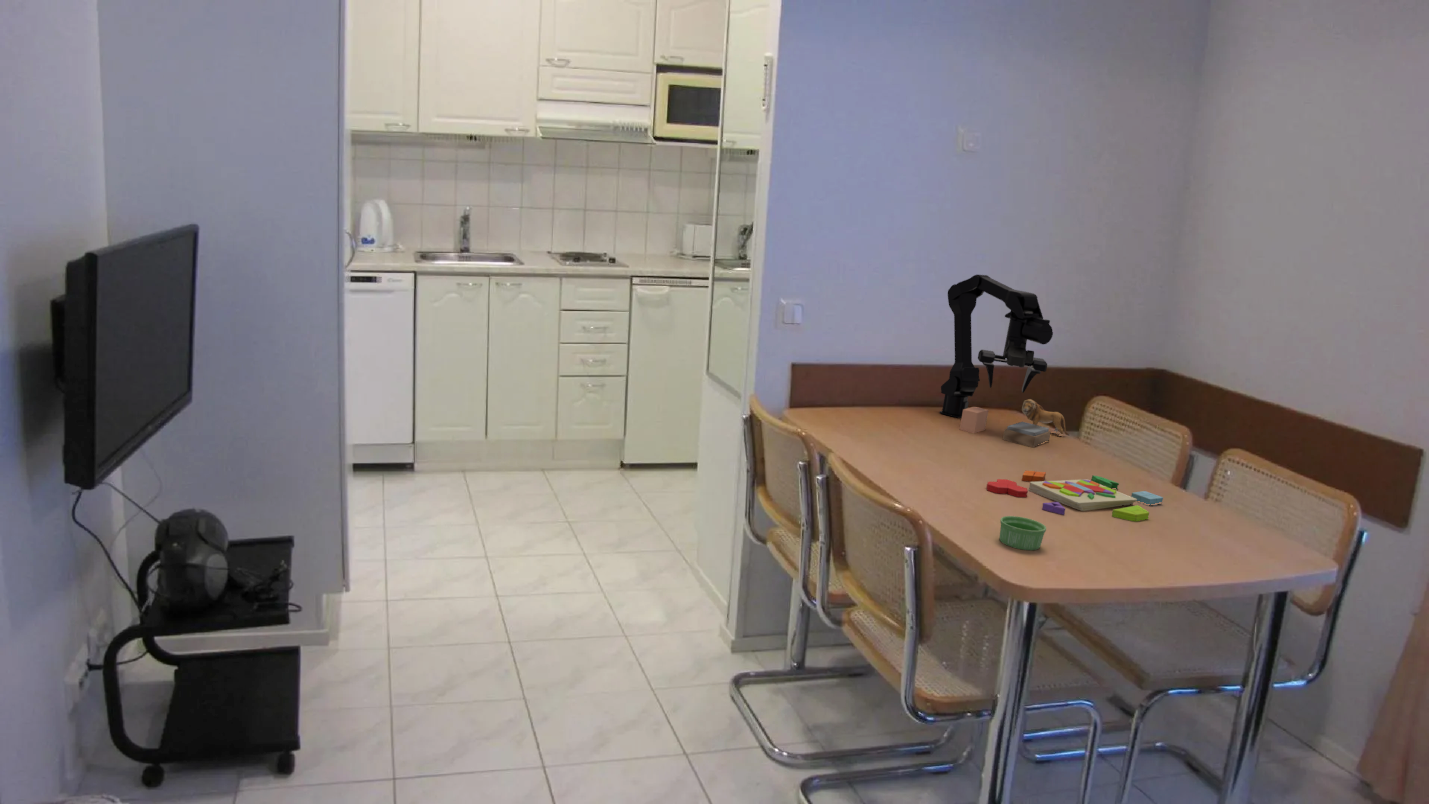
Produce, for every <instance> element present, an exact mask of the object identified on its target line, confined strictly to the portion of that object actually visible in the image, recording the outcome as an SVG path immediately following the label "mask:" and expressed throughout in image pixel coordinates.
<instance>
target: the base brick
mask: <svg viewBox="0 0 1429 804" xmlns="http://www.w3.org/2000/svg"><path fill="white" fill-rule="evenodd" d="M1049 430H1050V428H1049V427H1045V426H1041V425H1038V424H1037V425H1034V424H1033V423H1029V422H1026V421H1025V422H1024V421H1020V422H1016V423H1012V424H1010V425H1007V428H1005V429H1004V431H1003V435H1002V436H1003V437H1002V440H1004V441H1007V442H1010V443H1015V444H1017V445H1022V446H1026V447H1029V446H1030V448H1036V447H1038V446H1037V445H1038V444H1041V443H1043V442H1045V441H1048V440H1049V441H1050V436H1051V431H1049ZM1035 446H1036V447H1035Z"/></svg>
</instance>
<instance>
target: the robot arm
mask: <svg viewBox="0 0 1429 804" xmlns="http://www.w3.org/2000/svg"><path fill="white" fill-rule="evenodd" d="M984 293H986V294H988V295H990V296H991V297H994V298H996V299H998V300H1000V301H1001V302H1002V303H1004V304H1005V307H1006V308H1008V309H1009V310H1010V311H1009V312H1008V313H1006V314H1005V315H1004V318H1006V319H1009V321H1008V322H1009V324H1008V327H1007V333H1006V337H1005V338H1006V339H1005V344H1004V349H1003V352H1002V353H1003V354H1002V355H1000V354H996V353H995V351H993V350H986V349H980V350H979V351H978V355H977V359H978V361H979V362H980V363H981V364H982V365H983V366H985V368H986V371H987V372H986V373H987V377H988V386H989V388H991V389H992V386H993V379H994V369H995V364H994V363H995V362H998V363H999V362H1000V363H1005V364H1007V365H1008V366H1010V367H1013V366H1014V367H1019V368H1024V367H1027V369H1026V373H1025V377H1024V380H1023V383H1022V387H1021V393H1023V394H1024V393H1025V391H1026V390H1027V388H1028V386H1029V384H1030V383H1031V382H1032V380H1033V379H1034V377H1035V376H1037V374H1039V375H1040V374H1041V373H1042V372H1044V373H1046V372H1047V368H1048V363H1047V361H1046V360H1045V359H1044V358H1039V357H1034V356H1035V351H1034V350H1029V349H1028V350H1027V343H1028V341H1031V342H1034V343H1037V344H1040V345H1047V344H1049V342H1050V341H1051V340H1052V339H1053V334H1054V332H1053V327H1052V326H1051V324H1050V322H1051V320H1049V319H1045V318H1044V317H1043V313H1042V310H1041V307H1040V304H1039V300H1038V295H1036V294H1035V293H1033V292H1029V291H1023V290H1018V289H1013V288H1012V287H1009V286H1008V285H1006V284H1003V283H1001V282H1000V281H998V280H996V279H994V278H991V277H990V276H989V275H987V274H974V275H973V276H971V277H970V278H967V279H964V280H962V281H959V282H957V283H954V284H953V285H951V286H950V288H949V289H948V290H947V300H948V301H947V302H948V307H949V308H950V310H951V312H952V313H953V323H954V324H953V326H954V327H953V328H954V330H953V331H954V363H953V365H952V367H951V368H950V370H949V376H948V379H947V380H946V381H945V382H944V383H943V384H942V385H941V386H940V393H941V394H943V395H944V397H943V403H942V410H939V414H941V415H946V416H950V417H953V418H958V419H960V418H962V413H963V409H967V408H969V401H968V399H969V398H970V397H973V396H974V394H975V391H976V389H977V388H978V387H979V382H981V379H980V368H979V367H975V365H974V364H973V359H972V358H973V354H972V350H973V349H972V348H973V347H972V314H973V311H974V310H975V308H976V306H977V299H979V297H981V296H982V295H983V294H984Z"/></svg>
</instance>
